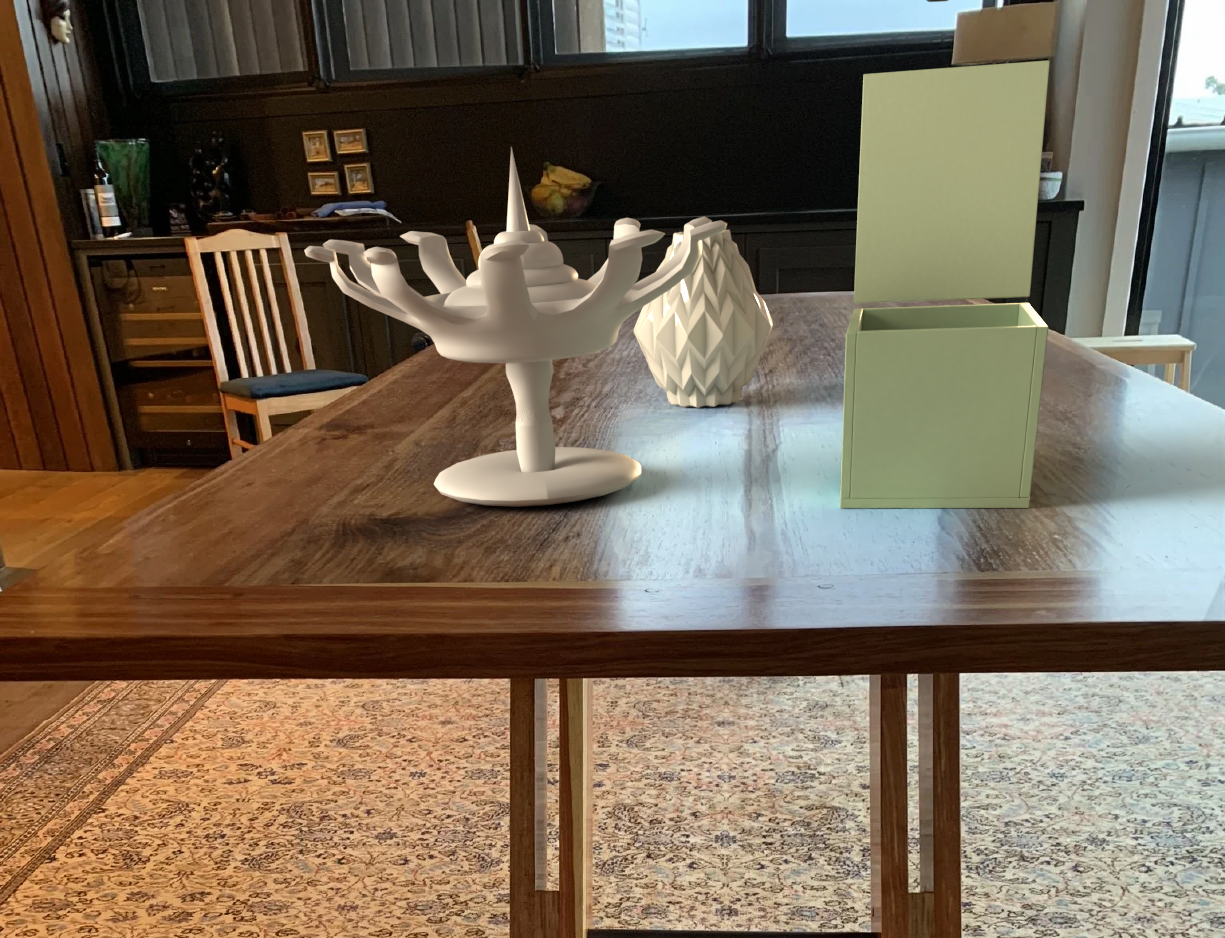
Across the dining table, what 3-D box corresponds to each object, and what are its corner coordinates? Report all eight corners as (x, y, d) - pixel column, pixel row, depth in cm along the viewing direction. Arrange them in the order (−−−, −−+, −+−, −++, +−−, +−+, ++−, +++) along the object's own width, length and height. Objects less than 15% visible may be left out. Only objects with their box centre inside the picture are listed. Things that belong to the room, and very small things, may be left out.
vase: (738, 417, 135) (737, 234, 127) (612, 411, 143) (603, 238, 134) (795, 393, 147) (797, 224, 139) (675, 389, 155) (671, 228, 146)
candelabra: (413, 451, 128) (375, 158, 115) (745, 444, 122) (744, 135, 109) (281, 540, 98) (211, 160, 86) (711, 537, 92) (704, 127, 79)
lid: (1049, 60, 97) (1048, 63, 98) (863, 74, 100) (863, 76, 101) (1029, 296, 102) (1028, 297, 103) (853, 302, 105) (854, 303, 106)
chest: (1029, 508, 95) (1048, 326, 89) (839, 508, 98) (845, 332, 92) (1012, 462, 109) (1028, 302, 103) (847, 463, 112) (853, 308, 106)
